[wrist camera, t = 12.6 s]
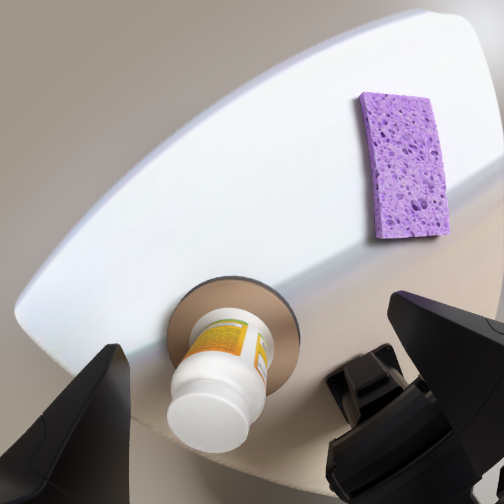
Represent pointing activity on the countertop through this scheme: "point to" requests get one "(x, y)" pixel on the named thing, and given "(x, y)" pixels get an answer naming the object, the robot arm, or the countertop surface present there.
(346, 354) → the countertop surface
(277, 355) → the turntable platter
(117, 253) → the countertop surface
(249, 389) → the supplement bottle
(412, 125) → the purple sponge
